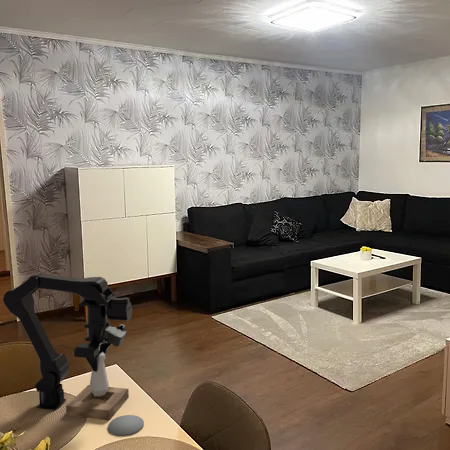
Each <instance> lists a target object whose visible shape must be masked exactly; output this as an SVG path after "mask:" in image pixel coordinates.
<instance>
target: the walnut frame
mask: <svg viewBox="0 0 450 450" xmlns="http://www.w3.org/2000/svg"><path fill="white" fill-rule="evenodd" d="M129 395H130V394H129V388H124V387H114V386H112V387H111V386H109V387H108V389H107V391H106V393H105V395H102V396H94V395H93V393H92V392H91V390H90V384H88V385H87V386H86V387H85V388H83V389H82V390H81V391H80V392H79V393H78V394H77V395H76V396H75V397H74V398H73V399H72V400H70V402H68V403H67V404H66V405H65V411H66V412H65V414H66V416H70V417H77V418H78V417H79V418H85V419H86V418H88V419H97V420H105V421H111V420H112V419H113V417H114V416H115V414H117V412H118V411H119V410H120V409H121V408H122V406H124V404H125V403H126V402H127V400H129V398H130V397H129ZM93 400H96V401H97V400H99V401H106V402H105V403H96V402H92V401H93Z"/></svg>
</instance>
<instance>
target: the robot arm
mask: <svg viewBox="0 0 450 450" xmlns="http://www.w3.org/2000/svg"><path fill="white" fill-rule="evenodd" d="M39 289H43V290H50V291H58V292H65V293H73V294H75V295H77V296H80V297H81V298H84V299H83V300H82V301H81V302H80V303H79V306H82V307H86V317H87V319H86V321H87V322H86V323H84V328H85V329H87V336H86V337H85V338H84V341H85V342H82V343H80V344H79V345H78V346H76V347H75V348H74V350H73V356H74V358H84V359H86V361H87V362H88V364H89V366H90V367H91V370H92V369H93V371H94V372H97V370H98V362H99V355H100V354H101V353H102V352H104V353H105V360H106V358H107V353H108V352H109V351H108V350H109V348H110V346H111V345H112V346H114V347H120V345H122V344H123V342H124V340H125V337H127V336H128V333H127V329H126V325H125V324H122V323H120V325H119V326H114V327H113V326H111V322H110V321H126V322H128V321H129V322H130V321H131V320H132V315H133V306H132V302H130V301H131V300H130V297H120V298H119V297H116V294H114V292H113V291H112V289H111V288H110V287H109V284H108V281H107V280H106V279H105V278H104V277H101V276H90V277H84V278H83V277H82V278H76V277H70V276H69V277H68V276H61V275H53V274H48V273H47V274H45V273H43V272H38V273H35V274H33V275H31V276H30V277H29V278H28V279H27V280H25V281H24V282H23V283H21V284H20V285H18V286H16V287H14V288H12V289H10V290H8V291H6V292H5V294H4V295H3V298H2V302H3V305H4V306H5V308H7V310H8V311H9V313H10V314H12V315H13V316H15V317H16V318H18V320H19V321H20V323H21V326H22V327H23V330H24V332H25V334H26V335H27V337H28V339H29V341H30V343H31V345H32V347H33V349H34V351H35V353H36V355H37V356H38V359H39V373H40V375H41V378H40V379H39V381H37V382H36V383H35V384H34V387H35V389H36V391H37V392H38V397H39V403H38V404H37V405H36V409H40V410H42V409H43V410H44V409H45V410H52V411H56V410H57V409H58V408H59V407H60V406H61V405H62V404H64V403H65V402H66V400H67V399H66V398H65V390H64V389H63V383H62V382H63V381H64V380H65V377H67V375H68V374H69V372H70V364H71V363H70V361H68V360H67V356H66V354H65V353H64V352H62V353H61V354H60V353H59V352H56V350H55V349H54V347H53V345H52V343H51V341H50V339H49V337H48V335H47V333H46V331H45V329H44V327H43V325H42V323H41V322H40V321H41V320H40V319H39V317H38V314H37V313H36V311H35V299H34V296H33V294H34V293H36V292H37V291H38V290H39ZM107 319H109V320H107ZM105 360H104V363H105V362H106V361H105Z"/></svg>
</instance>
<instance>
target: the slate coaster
mask: <svg viewBox="0 0 450 450" xmlns="http://www.w3.org/2000/svg"><path fill="white" fill-rule="evenodd" d="M144 423H145V422H144V419H143V418H142V417H140V416H138V415H134V414H125V415H120V416H117V417H115V418H112V419H111V420H110V422H109V423H108V431H109V433H110V434H112V435H115V436H118V437H120V436H121V437H125V436H132V435H134V434H137V433H139V432H140V431H141V430H143V428H144V427H145V424H144Z"/></svg>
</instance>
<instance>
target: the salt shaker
mask: <svg viewBox="0 0 450 450" xmlns="http://www.w3.org/2000/svg"><path fill="white" fill-rule="evenodd" d="M104 360H106V358H105V353H104V352H102V353H101V354H100V355H99V362H98V370H97V372H94V371H93V369H92V368H91V372H90V373H91V374H90V375H91V376H90V380H89V381H90V382H89V385H90V390H91V392H92V393H93V395H94V396H102V395H105V393H106V391H107V389H108V387H110V384H109V379H108V374H107V369H106V365H105V362H104Z"/></svg>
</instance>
